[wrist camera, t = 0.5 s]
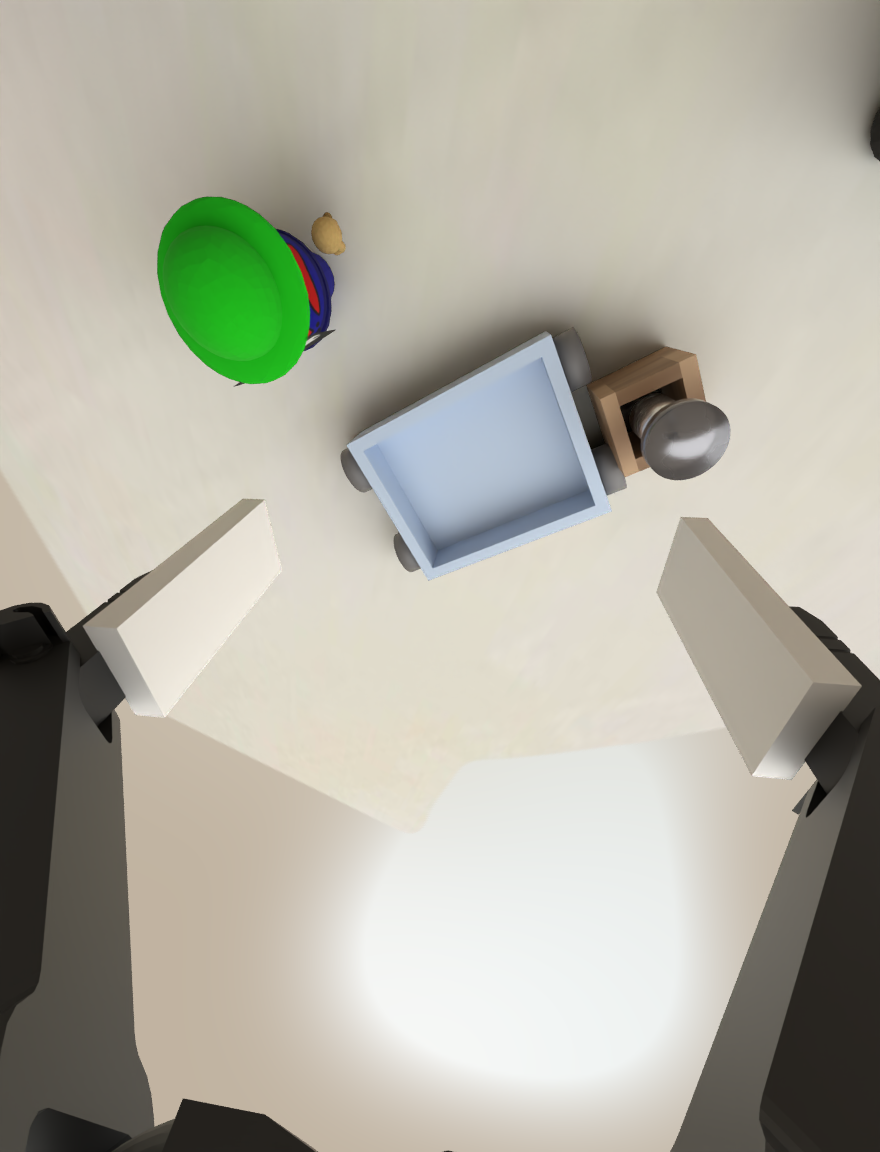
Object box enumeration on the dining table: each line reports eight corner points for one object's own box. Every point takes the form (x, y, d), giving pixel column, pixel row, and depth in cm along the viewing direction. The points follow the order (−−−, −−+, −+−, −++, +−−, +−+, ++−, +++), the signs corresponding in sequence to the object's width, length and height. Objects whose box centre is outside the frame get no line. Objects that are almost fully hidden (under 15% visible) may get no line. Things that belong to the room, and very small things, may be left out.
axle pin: (611, 400, 31) (637, 424, 25) (677, 370, 29) (722, 387, 23) (628, 456, 32) (656, 491, 26) (691, 430, 31) (736, 461, 25)
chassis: (346, 439, 39) (329, 454, 35) (567, 318, 32) (575, 321, 28) (420, 562, 45) (412, 586, 41) (620, 483, 38) (633, 502, 34)
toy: (307, 402, 38) (208, 451, 25) (224, 316, 35) (66, 323, 22) (400, 291, 33) (334, 283, 20) (311, 180, 30) (169, 90, 17)
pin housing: (586, 385, 34) (600, 399, 29) (666, 346, 32) (695, 354, 27) (608, 453, 37) (625, 477, 32) (683, 421, 35) (714, 441, 30)
